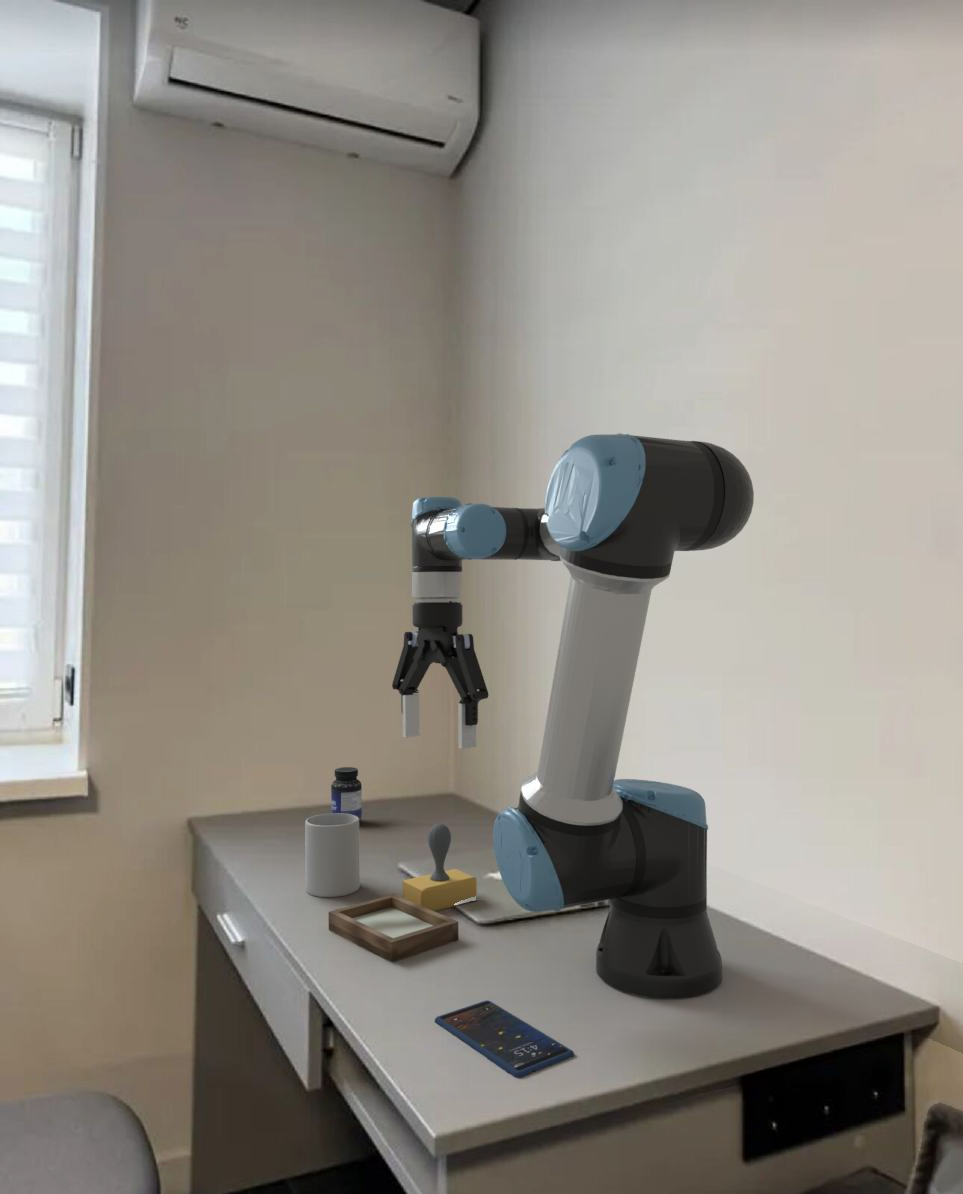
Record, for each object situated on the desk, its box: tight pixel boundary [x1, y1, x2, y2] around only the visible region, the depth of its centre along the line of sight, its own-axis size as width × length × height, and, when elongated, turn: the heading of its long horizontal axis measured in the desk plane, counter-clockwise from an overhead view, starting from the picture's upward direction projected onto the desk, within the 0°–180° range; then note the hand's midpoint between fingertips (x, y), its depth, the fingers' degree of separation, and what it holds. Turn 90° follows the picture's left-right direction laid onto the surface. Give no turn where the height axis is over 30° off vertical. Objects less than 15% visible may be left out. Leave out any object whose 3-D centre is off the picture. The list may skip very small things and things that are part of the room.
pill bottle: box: [330, 766, 363, 825], centre depth 186 cm, size 6×6×11 cm
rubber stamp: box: [402, 823, 478, 912], centre depth 139 cm, size 10×6×12 cm, turn 126°
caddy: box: [328, 893, 460, 963], centre depth 126 cm, size 15×11×2 cm
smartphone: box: [434, 1000, 575, 1079], centre depth 97 cm, size 8×1×15 cm
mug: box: [304, 813, 361, 898], centre depth 147 cm, size 12×8×11 cm
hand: (438, 742), depth 139 cm, fingers open, 13 cm apart
